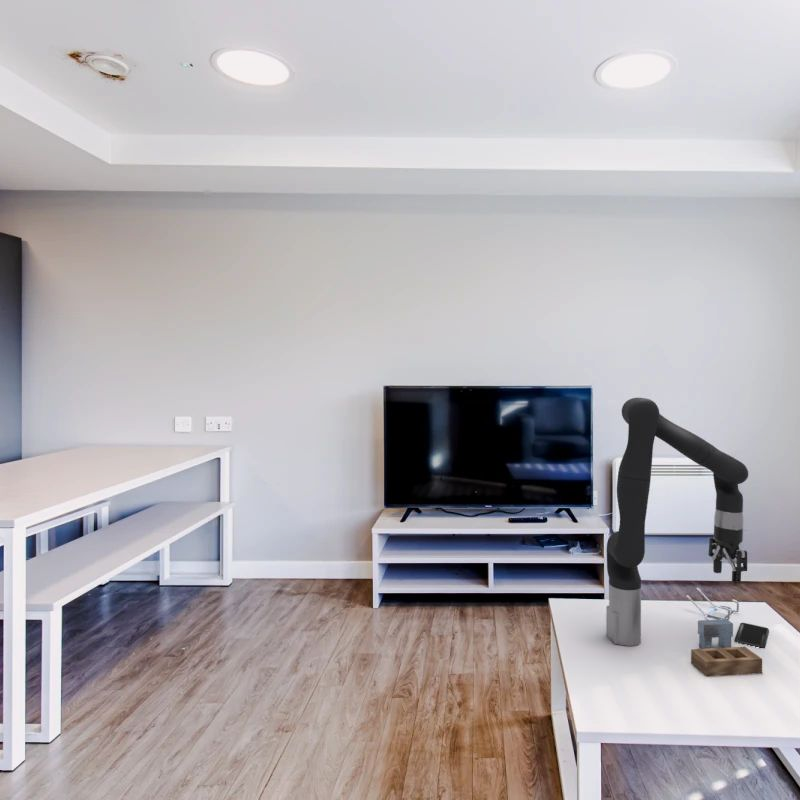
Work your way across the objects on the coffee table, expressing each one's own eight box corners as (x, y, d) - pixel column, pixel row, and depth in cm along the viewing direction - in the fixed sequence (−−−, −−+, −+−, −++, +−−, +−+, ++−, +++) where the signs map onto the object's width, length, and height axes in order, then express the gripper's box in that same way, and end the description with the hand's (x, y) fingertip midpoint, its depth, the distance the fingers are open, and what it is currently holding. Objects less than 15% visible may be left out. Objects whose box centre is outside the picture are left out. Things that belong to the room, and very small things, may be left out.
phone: (734, 639, 172) (740, 621, 183) (734, 643, 172) (740, 625, 183) (764, 647, 167) (769, 628, 179) (764, 650, 167) (769, 631, 179)
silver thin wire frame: (726, 626, 182) (726, 609, 182) (682, 613, 192) (682, 597, 192) (742, 612, 193) (742, 595, 192) (700, 600, 203) (700, 585, 202)
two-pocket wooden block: (706, 676, 153) (706, 661, 153) (691, 663, 160) (691, 649, 160) (762, 673, 154) (762, 659, 154) (744, 660, 161) (745, 646, 161)
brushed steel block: (703, 651, 166) (703, 624, 166) (697, 646, 169) (697, 620, 169) (732, 649, 167) (733, 623, 166) (726, 644, 170) (726, 619, 169)
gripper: (702, 519, 176) (700, 569, 177) (732, 532, 162) (730, 587, 162) (724, 518, 176) (722, 569, 177) (757, 531, 162) (754, 586, 163)
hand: (726, 577), depth 170 cm, fingers open, 8 cm apart
